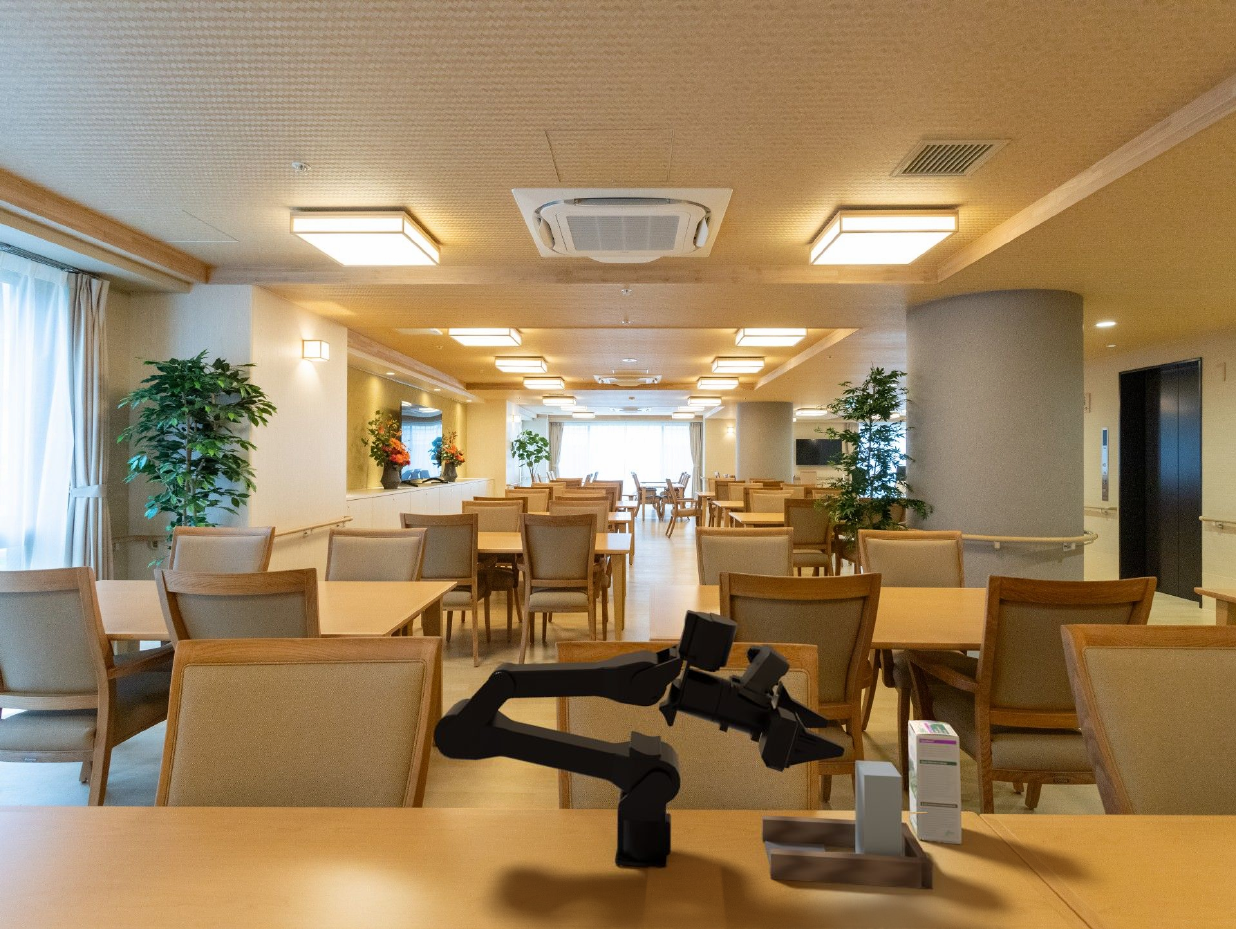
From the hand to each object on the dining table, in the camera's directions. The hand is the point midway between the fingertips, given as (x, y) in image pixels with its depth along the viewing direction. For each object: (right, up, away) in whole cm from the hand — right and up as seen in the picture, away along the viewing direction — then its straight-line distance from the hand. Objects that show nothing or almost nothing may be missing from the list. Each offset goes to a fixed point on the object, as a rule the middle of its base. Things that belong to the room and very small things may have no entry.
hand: (835, 737), depth 88 cm
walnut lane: (+1, -16, 0) cm, 16 cm away
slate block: (+5, -16, 0) cm, 17 cm away
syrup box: (+16, -16, +8) cm, 24 cm away
